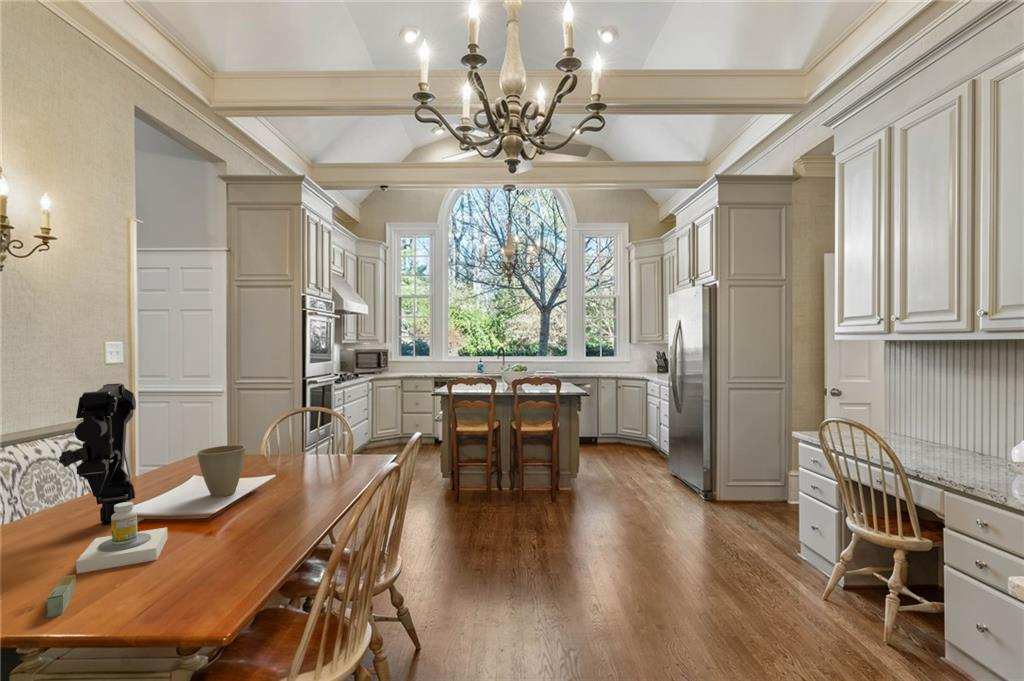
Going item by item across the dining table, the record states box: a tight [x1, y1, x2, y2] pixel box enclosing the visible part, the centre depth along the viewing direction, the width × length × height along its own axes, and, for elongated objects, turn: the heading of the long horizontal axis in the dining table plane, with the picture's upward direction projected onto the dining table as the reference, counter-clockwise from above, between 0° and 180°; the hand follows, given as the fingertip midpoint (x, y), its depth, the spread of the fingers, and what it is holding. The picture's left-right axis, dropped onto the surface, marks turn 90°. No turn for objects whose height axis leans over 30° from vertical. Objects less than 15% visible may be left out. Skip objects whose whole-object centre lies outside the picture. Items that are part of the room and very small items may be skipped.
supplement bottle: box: [110, 501, 138, 545], centre depth 137 cm, size 5×5×10 cm
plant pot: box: [196, 444, 246, 498], centre depth 188 cm, size 15×15×16 cm
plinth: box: [75, 526, 169, 574], centre depth 137 cm, size 16×16×3 cm
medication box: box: [45, 574, 77, 619], centre depth 112 cm, size 12×3×4 cm, turn 30°
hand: (100, 492), depth 148 cm, fingers open, 9 cm apart
